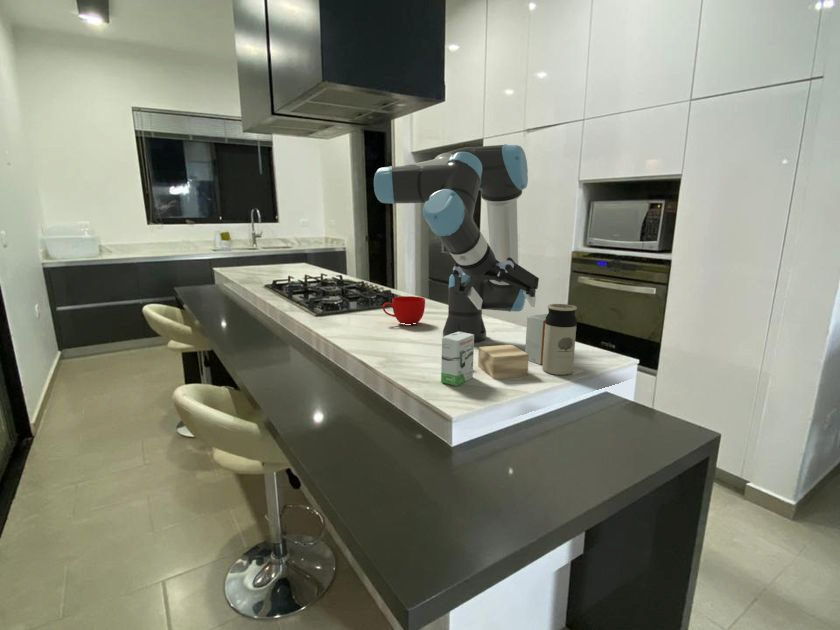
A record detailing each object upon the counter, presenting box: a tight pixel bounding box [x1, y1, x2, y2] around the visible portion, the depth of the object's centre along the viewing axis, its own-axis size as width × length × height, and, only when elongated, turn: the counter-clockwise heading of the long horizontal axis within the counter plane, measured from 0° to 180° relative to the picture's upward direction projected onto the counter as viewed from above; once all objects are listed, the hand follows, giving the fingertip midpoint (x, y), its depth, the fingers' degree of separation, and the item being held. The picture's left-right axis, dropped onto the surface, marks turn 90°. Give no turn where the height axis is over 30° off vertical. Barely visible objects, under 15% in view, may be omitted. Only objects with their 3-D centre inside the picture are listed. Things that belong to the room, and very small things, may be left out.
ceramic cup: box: [382, 295, 426, 324], centre depth 175 cm, size 13×17×10 cm
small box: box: [524, 313, 548, 365], centre depth 131 cm, size 8×6×13 cm
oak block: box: [477, 344, 530, 379], centre depth 121 cm, size 10×10×6 cm
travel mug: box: [541, 303, 578, 376], centre depth 120 cm, size 8×8×18 cm
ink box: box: [440, 332, 475, 387], centre depth 114 cm, size 9×5×12 cm, turn 145°
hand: (506, 303), depth 108 cm, fingers open, 13 cm apart
